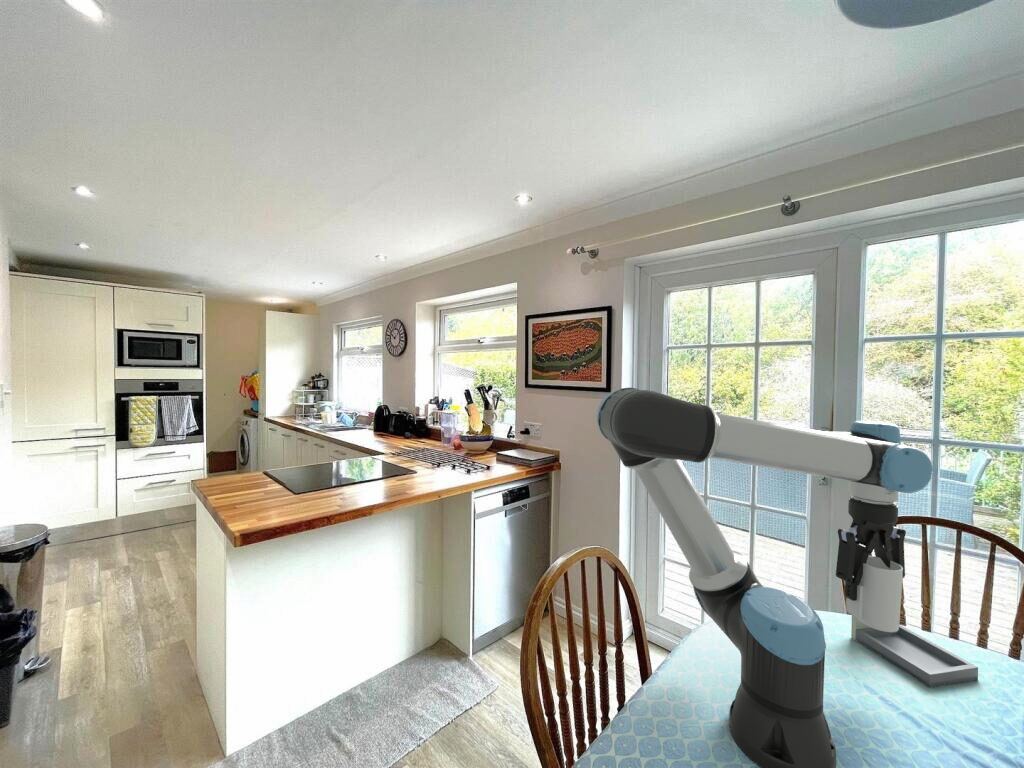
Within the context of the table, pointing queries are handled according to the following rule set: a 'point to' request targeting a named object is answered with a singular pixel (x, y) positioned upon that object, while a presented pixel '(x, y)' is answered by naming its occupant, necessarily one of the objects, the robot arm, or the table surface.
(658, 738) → the table surface
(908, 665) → the mug holder
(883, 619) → the mug
